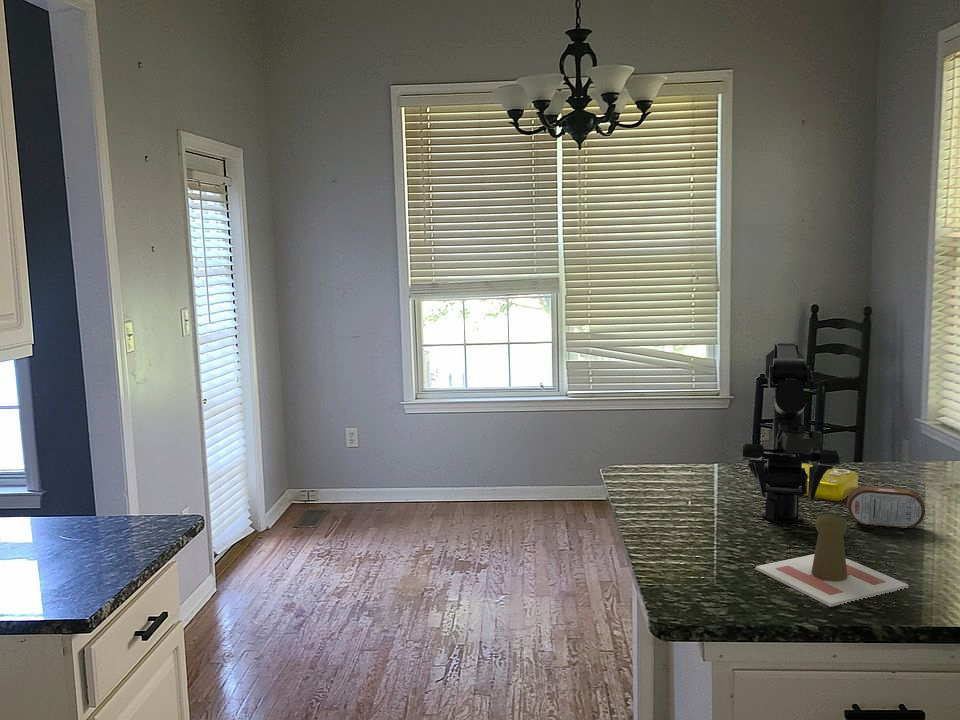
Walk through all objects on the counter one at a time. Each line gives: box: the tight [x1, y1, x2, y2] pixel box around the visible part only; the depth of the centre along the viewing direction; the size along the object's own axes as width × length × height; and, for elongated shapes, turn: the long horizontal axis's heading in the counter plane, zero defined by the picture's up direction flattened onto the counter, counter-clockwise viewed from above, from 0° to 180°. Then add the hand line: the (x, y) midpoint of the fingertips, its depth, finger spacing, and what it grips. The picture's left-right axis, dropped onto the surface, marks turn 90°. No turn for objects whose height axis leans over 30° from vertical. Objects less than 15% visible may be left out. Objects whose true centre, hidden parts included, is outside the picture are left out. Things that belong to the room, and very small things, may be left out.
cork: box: [811, 513, 848, 581], centre depth 148 cm, size 6×6×11 cm
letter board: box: [755, 553, 909, 608], centre depth 149 cm, size 18×18×1 cm
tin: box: [846, 485, 926, 529], centre depth 175 cm, size 15×3×8 cm, turn 71°
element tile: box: [802, 463, 859, 502], centre depth 203 cm, size 15×15×5 cm
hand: (786, 499), depth 163 cm, fingers open, 9 cm apart
